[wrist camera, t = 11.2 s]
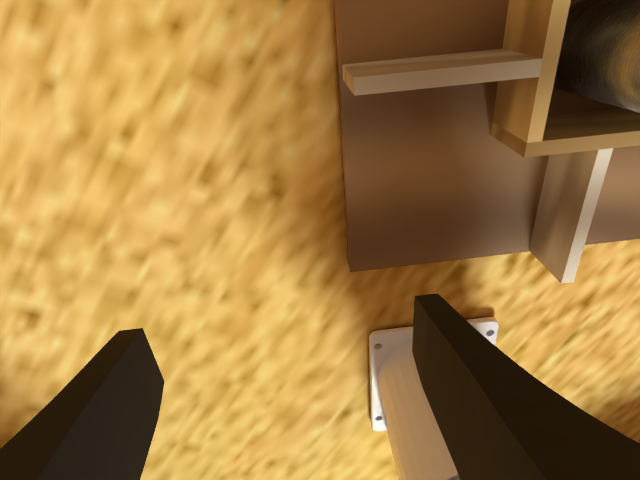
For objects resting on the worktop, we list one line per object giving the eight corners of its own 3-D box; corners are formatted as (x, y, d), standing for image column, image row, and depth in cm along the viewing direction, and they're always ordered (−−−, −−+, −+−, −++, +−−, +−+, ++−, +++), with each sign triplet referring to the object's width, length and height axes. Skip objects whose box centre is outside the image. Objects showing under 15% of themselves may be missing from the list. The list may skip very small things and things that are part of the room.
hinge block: (630, 231, 23) (688, 270, 20) (348, 263, 23) (359, 308, 19) (768, -152, 15) (905, -193, 12) (328, -114, 14) (342, -145, 11)
